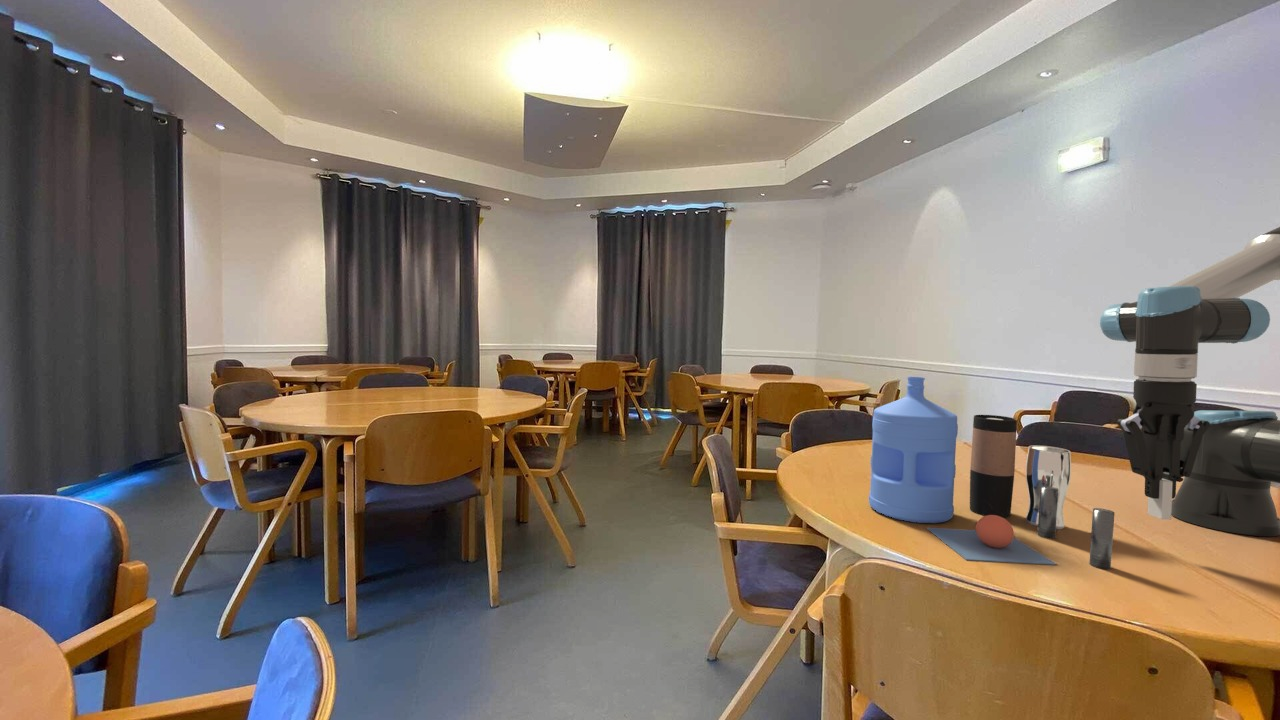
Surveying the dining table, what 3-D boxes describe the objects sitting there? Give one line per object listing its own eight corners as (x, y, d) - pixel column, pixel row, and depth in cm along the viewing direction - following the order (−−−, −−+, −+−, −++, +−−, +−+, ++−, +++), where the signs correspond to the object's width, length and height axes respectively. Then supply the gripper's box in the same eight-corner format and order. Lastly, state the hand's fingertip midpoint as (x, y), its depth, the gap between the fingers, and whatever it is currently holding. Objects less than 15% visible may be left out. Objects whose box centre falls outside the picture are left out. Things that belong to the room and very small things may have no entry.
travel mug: (959, 507, 113) (964, 415, 112) (986, 505, 115) (991, 414, 114) (992, 520, 106) (998, 421, 105) (1021, 516, 108) (1026, 419, 107)
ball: (962, 528, 95) (988, 547, 95) (980, 540, 89) (1007, 559, 89) (982, 504, 95) (1007, 522, 94) (1001, 514, 89) (1028, 533, 89)
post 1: (1048, 533, 99) (1051, 486, 98) (1058, 539, 96) (1061, 490, 96) (1034, 532, 99) (1037, 485, 99) (1043, 538, 97) (1046, 489, 96)
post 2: (1102, 562, 86) (1105, 508, 86) (1115, 569, 84) (1118, 513, 83) (1085, 561, 87) (1088, 507, 86) (1097, 568, 84) (1101, 513, 84)
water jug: (873, 495, 121) (879, 373, 119) (953, 508, 113) (960, 377, 111) (863, 514, 107) (869, 377, 106) (953, 531, 99) (960, 382, 98)
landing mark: (1004, 532, 99) (1004, 531, 99) (1057, 565, 85) (1057, 563, 85) (926, 528, 100) (926, 527, 100) (966, 560, 86) (966, 559, 86)
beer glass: (1023, 515, 109) (1028, 443, 108) (1067, 523, 105) (1072, 448, 104) (1021, 524, 104) (1025, 448, 103) (1067, 533, 99) (1072, 454, 98)
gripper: (1142, 381, 86) (1136, 524, 87) (1229, 380, 85) (1222, 525, 86) (1105, 377, 93) (1101, 508, 94) (1185, 376, 92) (1179, 509, 93)
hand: (1159, 516), depth 90 cm, fingers closed
